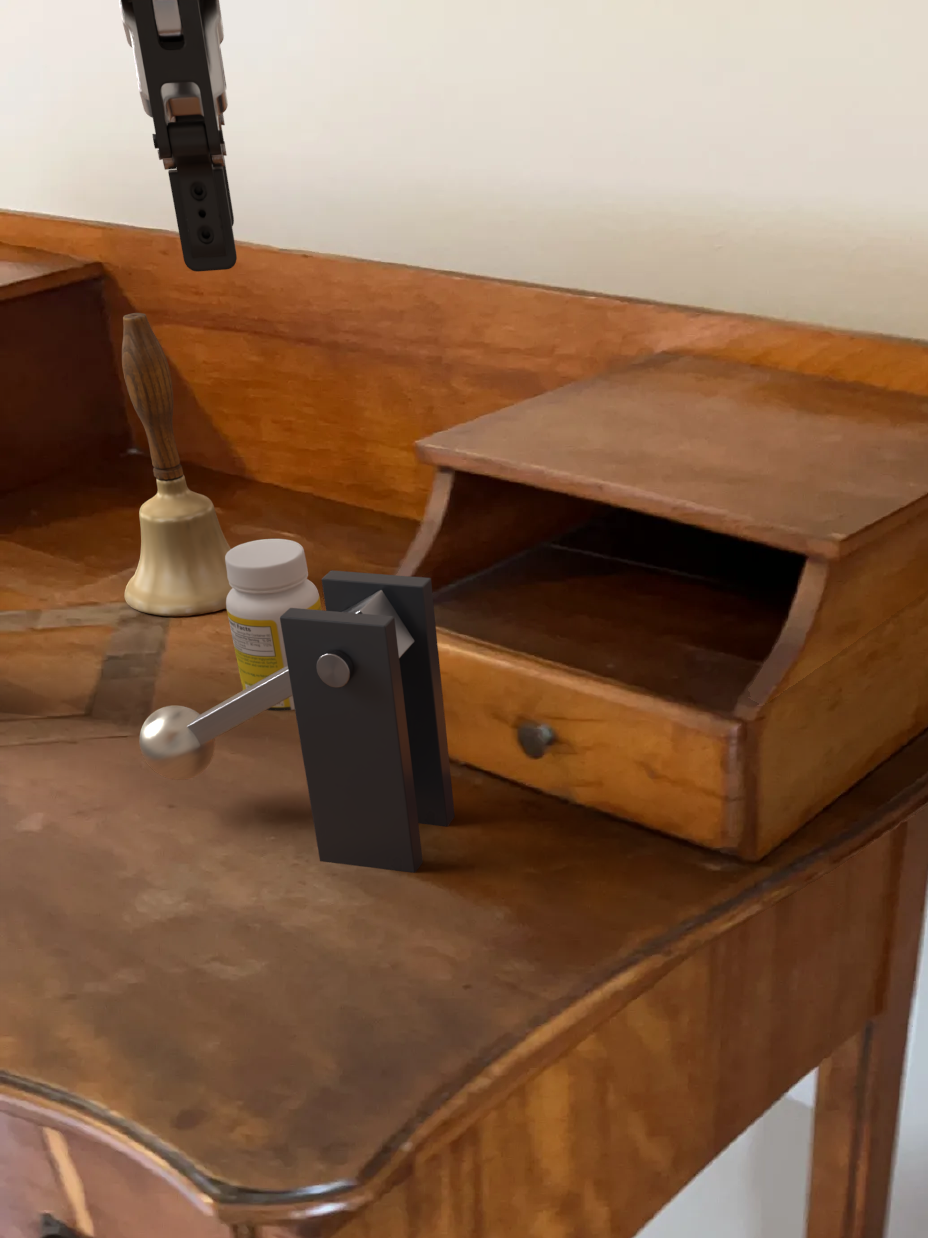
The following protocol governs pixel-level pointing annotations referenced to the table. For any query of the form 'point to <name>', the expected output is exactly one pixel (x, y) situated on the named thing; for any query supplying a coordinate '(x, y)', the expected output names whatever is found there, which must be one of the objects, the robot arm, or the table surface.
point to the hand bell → (169, 498)
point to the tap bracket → (370, 720)
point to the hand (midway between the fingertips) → (212, 249)
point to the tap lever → (229, 712)
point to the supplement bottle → (265, 604)
